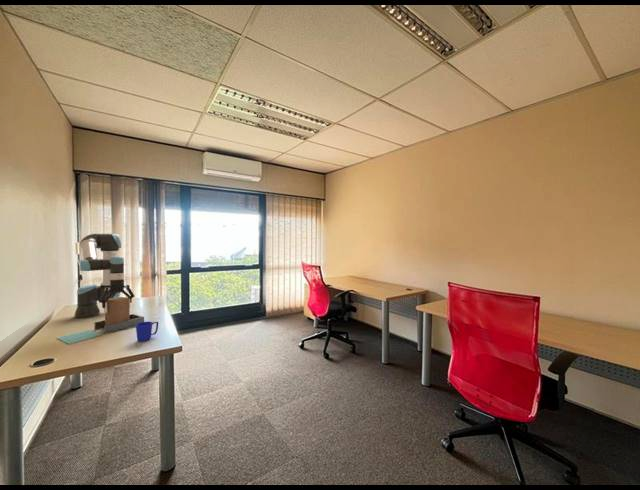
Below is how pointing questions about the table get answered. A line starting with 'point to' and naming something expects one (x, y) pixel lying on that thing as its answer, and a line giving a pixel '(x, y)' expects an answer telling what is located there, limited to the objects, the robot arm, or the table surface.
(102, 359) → the table surface
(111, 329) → the chute
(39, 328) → the table surface
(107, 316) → the wooden block
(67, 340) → the pad
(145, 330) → the mug
